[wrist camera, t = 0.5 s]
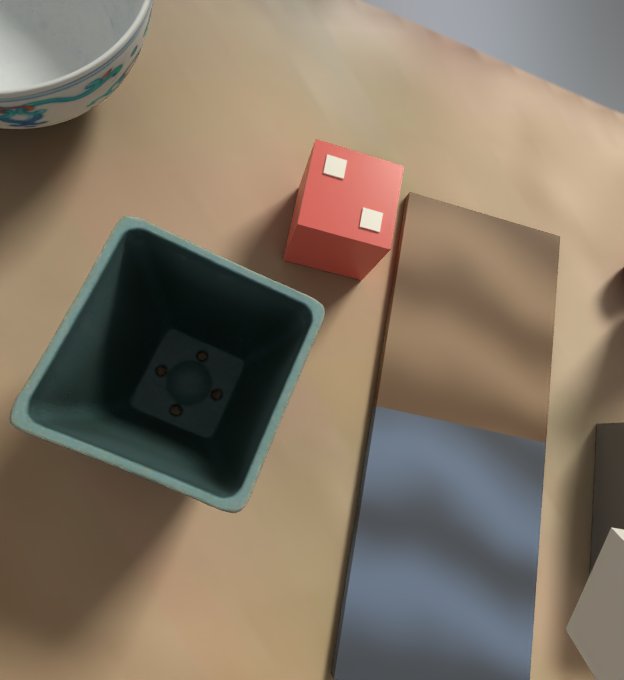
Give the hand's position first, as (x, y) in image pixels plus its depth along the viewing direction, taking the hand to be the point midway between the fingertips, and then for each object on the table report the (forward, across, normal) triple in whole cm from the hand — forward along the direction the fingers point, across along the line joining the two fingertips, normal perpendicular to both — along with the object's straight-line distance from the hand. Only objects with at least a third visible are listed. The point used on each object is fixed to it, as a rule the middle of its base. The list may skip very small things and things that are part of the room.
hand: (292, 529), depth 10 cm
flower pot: (+17, +5, +5) cm, 18 cm away
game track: (+18, -11, +4) cm, 21 cm away
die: (+22, -1, -5) cm, 23 cm away
